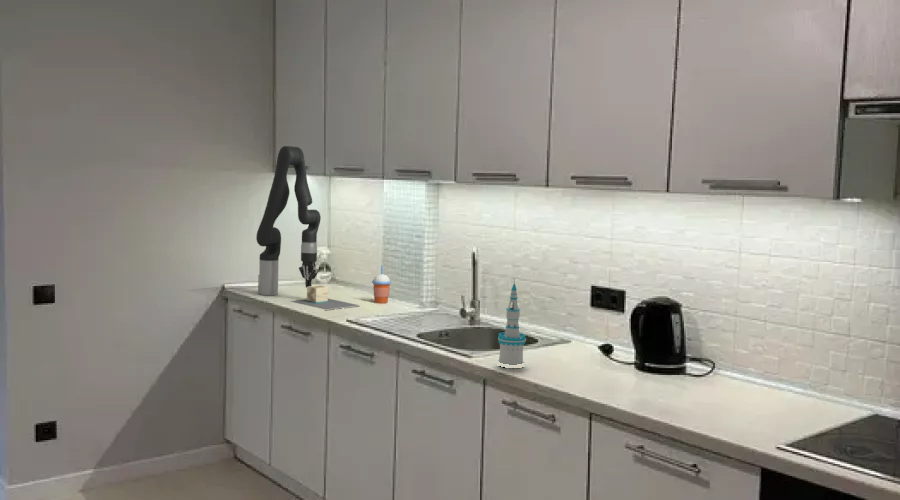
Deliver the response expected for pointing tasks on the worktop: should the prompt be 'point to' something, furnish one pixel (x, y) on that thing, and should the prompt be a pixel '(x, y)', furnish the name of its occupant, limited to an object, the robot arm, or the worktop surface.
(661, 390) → the worktop surface
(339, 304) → the rubber mat
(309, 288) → the birch cube
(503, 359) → the model tower
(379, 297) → the cup with straw
